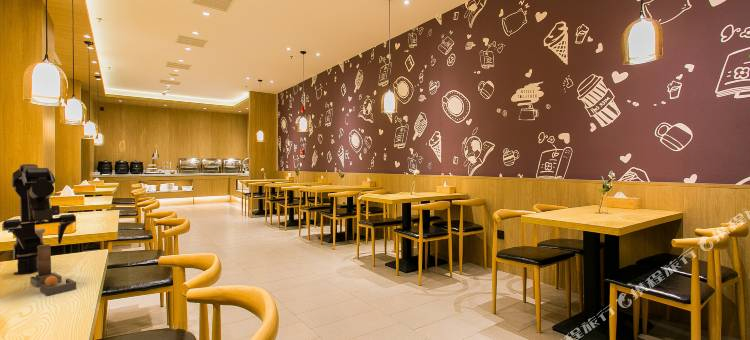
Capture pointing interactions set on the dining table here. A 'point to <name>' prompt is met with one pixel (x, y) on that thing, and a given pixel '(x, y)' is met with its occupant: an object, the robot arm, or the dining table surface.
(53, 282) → the ball
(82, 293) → the dining table surface
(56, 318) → the dining table surface
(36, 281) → the track
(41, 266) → the slider
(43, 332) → the dining table surface
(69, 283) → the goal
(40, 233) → the handle
